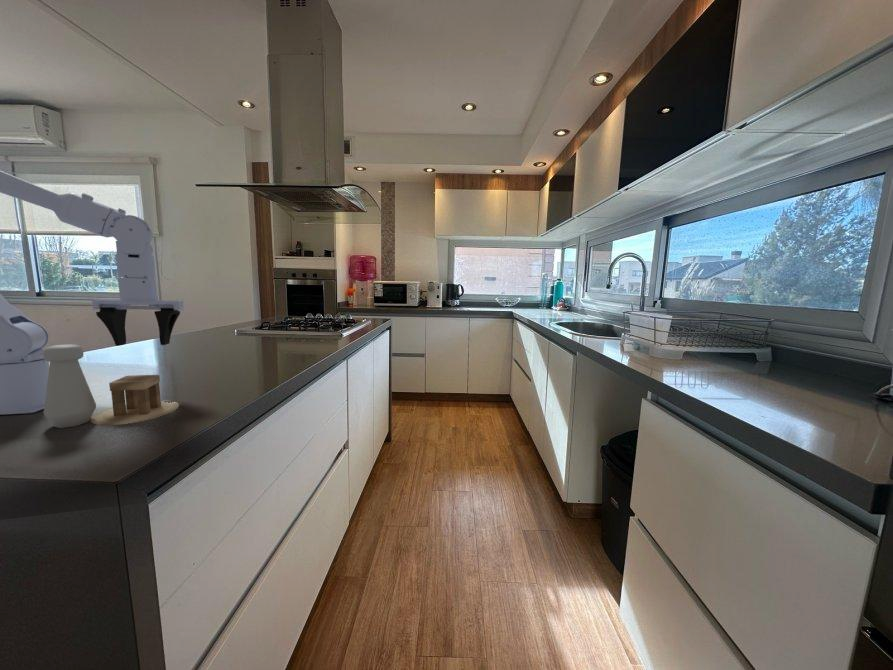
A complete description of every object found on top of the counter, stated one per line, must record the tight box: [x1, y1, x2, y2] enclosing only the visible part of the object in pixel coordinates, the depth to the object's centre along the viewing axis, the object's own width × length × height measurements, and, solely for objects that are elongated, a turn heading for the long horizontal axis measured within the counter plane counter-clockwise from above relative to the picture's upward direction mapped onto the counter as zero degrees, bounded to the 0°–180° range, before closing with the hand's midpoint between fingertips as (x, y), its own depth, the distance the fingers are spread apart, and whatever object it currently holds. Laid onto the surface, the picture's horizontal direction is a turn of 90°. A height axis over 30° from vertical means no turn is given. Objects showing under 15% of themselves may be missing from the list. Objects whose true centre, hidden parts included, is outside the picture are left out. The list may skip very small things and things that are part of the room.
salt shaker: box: [43, 343, 97, 429], centre depth 56 cm, size 6×6×13 cm
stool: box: [108, 374, 161, 416], centre depth 62 cm, size 5×5×6 cm
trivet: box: [89, 400, 180, 426], centre depth 62 cm, size 12×12×1 cm
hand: (143, 344), depth 71 cm, fingers open, 7 cm apart
